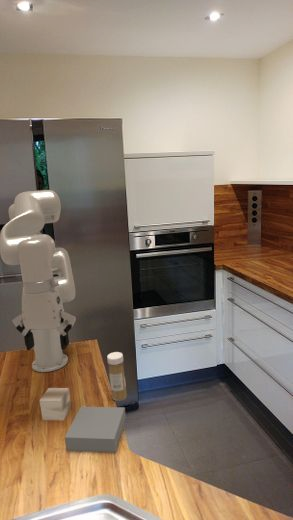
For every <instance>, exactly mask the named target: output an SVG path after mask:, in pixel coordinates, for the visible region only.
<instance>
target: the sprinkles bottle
mask: <svg viewBox="0 0 293 520" xmlns="http://www.w3.org/2000/svg"><path fill="white" fill-rule="evenodd" d="M106 358H107V364H108V373H109V375H108V376H109V383H110V389H111V390H110V391H111V399H112V400H113V401H116V402H121V401H123V400H126V398H128V393H127V387H126V386H127V385H126V384H127V383H126V376H125V368H124V355H123V352H119V351H114V352H110V353H109V354H107V357H106Z"/></svg>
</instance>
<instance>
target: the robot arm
mask: <svg viewBox="0 0 293 520" xmlns="http://www.w3.org/2000/svg"><path fill="white" fill-rule="evenodd" d="M61 206H62V205H61V200H60V197H59V195H58V193H57V192H55V190H52V189H44V190H43V189H42V190H28V191H23V192H20V193H18V194H17V195H16V196H15V197H14V201H13V203H12V204H11V205H10V206H9V208H8V216H9V217H8V218H9V221H8V222H6V224H4V225H3V227H2V229H1V230H0V258H1V260H2V262H3V263H4V264H6V265H8V266H18V265H20V272H21V278H22V279H21V280H22V284H23V285H22V286H23V287H22V295H21V314H19V315H17V316H16V317H14V318H13V319H11V322H12V323H13V325H14V327H15V329H16V330H17V331H18V332H19V333H20V334H21V336H22V337H23V339H24V345H25V347H26V351H30V350H31V349H32V348H33V350H34V356H35V358H34V359H35V360H33V362H31V368H32V370H33V371H35V372H39V373H49V372H54V371H57V370H60V369H62V368H63V367H64V366H66V365H67V363H68V362H69V357H68V356H67V354H65V353H64V352H63V351H64V350H66V349H67V347H68V346H69V345H70V339H69V331H70V330H71V329H72V328H73V327H74V325H75V322H76V316H75V315H72V314H70V313H68V312H66V311H65V309H64V303H68V302H72V301H73V300H74V299H75V297H76V285H75V281H74V274H73V270H72V265H71V259H70V256H69V253H68V251H67V250H66V249H65V248H63V247H56V243H55V240H54V239H53V238H52V237H51V236H50V235H49V234H44V233H41V231H42V230H43V229H44V226H45V224H53V223H57V222H58V221H59V220H60V215H61V209H62V207H61ZM54 275H57V276H54ZM21 321H22V322H23V323H22V322H21ZM66 321H68V323H67V324H65V322H66Z"/></svg>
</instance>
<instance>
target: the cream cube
mask: <svg viewBox="0 0 293 520" xmlns="http://www.w3.org/2000/svg"><path fill="white" fill-rule="evenodd" d="M70 394H71V393H70V389H69V387H48V388H47V389H46V391H45V392H44V393H43V395H42V396H41V398H39V404H40V412H41V418H42V419H41V420H43V421H64V420H65V418H66V417H67V415H68V413H69V412H70V410H71V408H72V403H71V402H72V401H71V395H70Z"/></svg>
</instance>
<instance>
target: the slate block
mask: <svg viewBox="0 0 293 520" xmlns="http://www.w3.org/2000/svg"><path fill="white" fill-rule="evenodd" d="M126 421H127V420H126V408H125V407H124V406H123V407H121V406H120V407H117V406H116V407H113V406H80V407H79V409H78V411H77V413H76V415H75V417H74V418H73V421H72V422H71V424H70V427H69V428H68V430H67V432H66V434H65V436H64V443H65V451H66V452H83V453H84V452H87V453H111V454H116V453H117V450H118V446H119V443H120V441H121V440H120V439H121V437H122V433H123V430H124V427H125V423H126Z"/></svg>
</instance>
